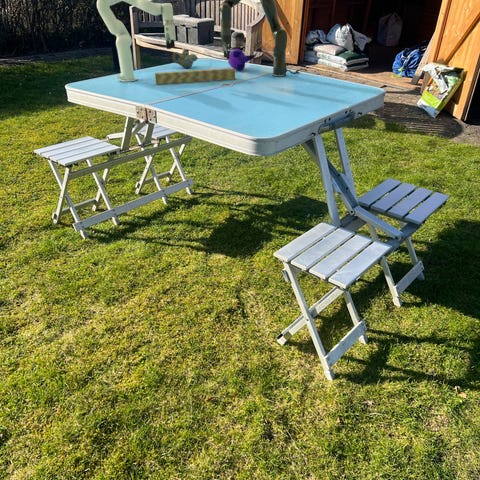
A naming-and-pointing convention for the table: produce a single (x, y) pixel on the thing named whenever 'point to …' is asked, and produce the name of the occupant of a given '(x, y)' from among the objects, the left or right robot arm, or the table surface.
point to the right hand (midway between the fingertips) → (226, 58)
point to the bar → (194, 76)
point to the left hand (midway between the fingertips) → (170, 48)
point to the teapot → (184, 59)
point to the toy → (239, 59)
